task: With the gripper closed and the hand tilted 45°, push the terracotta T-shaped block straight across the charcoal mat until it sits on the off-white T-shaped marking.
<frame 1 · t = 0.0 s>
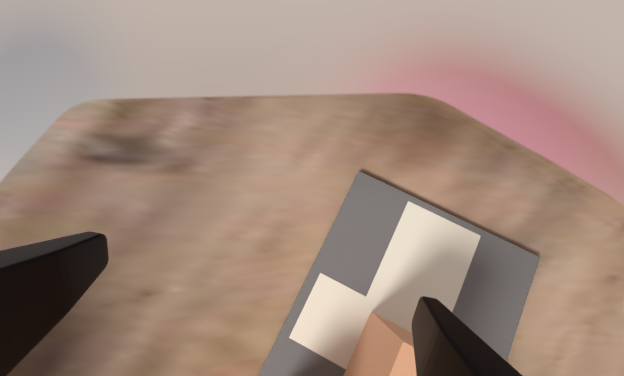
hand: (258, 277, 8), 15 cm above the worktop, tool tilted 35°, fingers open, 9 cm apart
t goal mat: (410, 296, 22), on the worktop
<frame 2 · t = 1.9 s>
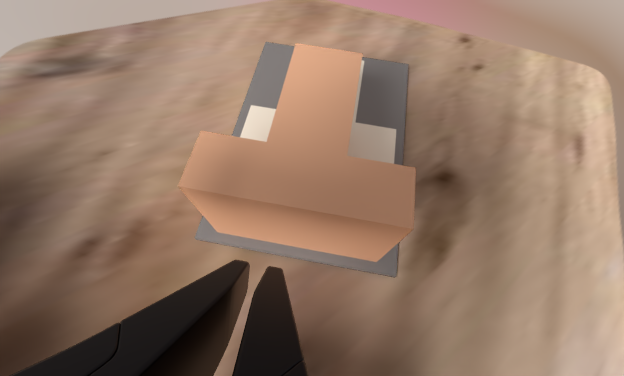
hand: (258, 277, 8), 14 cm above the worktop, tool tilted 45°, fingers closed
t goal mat: (325, 107, 28), on the worktop
t block: (310, 179, 25), resting on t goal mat
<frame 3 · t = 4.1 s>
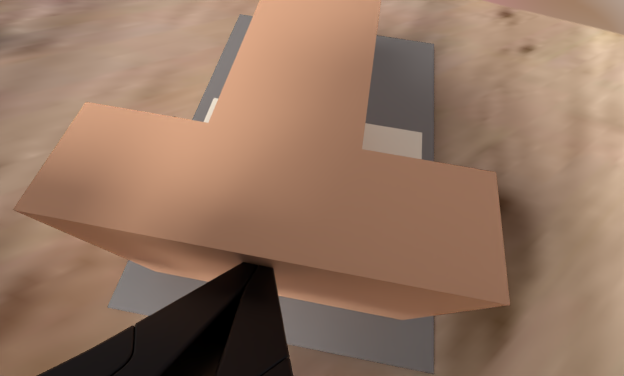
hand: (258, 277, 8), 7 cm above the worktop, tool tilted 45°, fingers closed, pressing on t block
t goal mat: (319, 101, 20), on the worktop
t block: (299, 188, 17), resting on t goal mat, touching gripper
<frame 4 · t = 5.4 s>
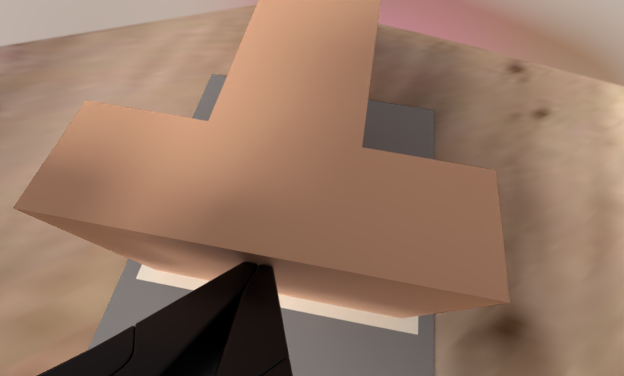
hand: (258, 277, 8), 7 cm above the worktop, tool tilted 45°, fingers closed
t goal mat: (300, 187, 17), on the worktop
t block: (299, 187, 17), resting on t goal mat
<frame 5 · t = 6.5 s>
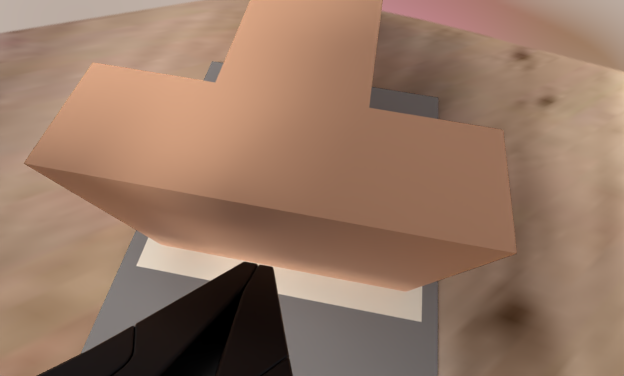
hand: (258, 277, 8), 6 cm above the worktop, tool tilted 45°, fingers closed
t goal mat: (302, 175, 17), on the worktop
t block: (303, 165, 17), resting on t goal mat
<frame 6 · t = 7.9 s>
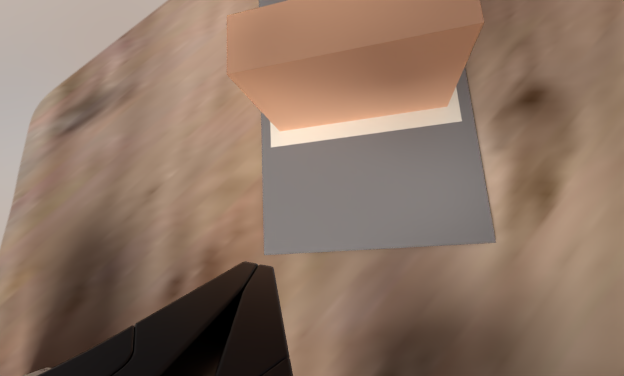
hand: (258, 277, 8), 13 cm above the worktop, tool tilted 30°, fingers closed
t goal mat: (353, 57, 23), on the worktop
t block: (351, 49, 23), resting on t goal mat
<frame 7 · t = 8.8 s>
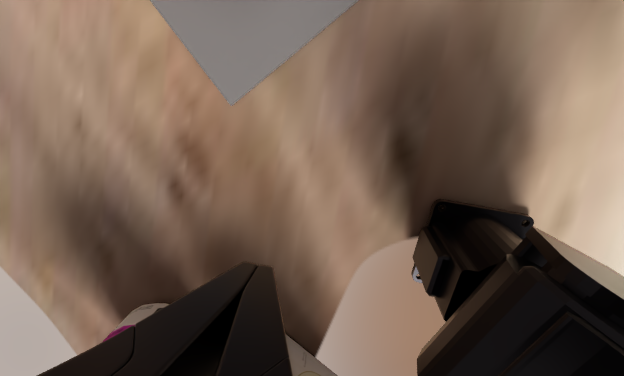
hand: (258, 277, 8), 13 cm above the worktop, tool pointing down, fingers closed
supplement can: (173, 333, 27), on the worktop
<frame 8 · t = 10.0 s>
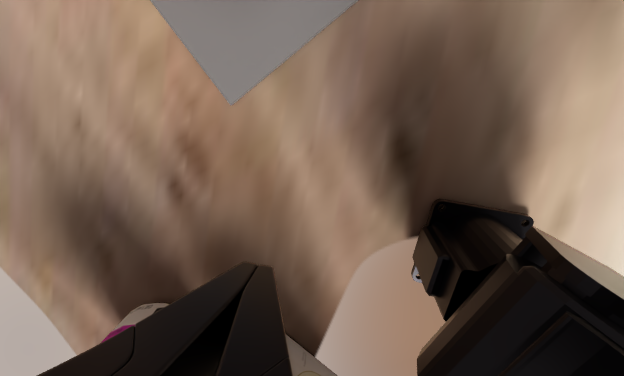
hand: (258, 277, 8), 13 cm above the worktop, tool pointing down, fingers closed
supplement can: (173, 332, 27), on the worktop
coffee box: (298, 375, 27), on the worktop
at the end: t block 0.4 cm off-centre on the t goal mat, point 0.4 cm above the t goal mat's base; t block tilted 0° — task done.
